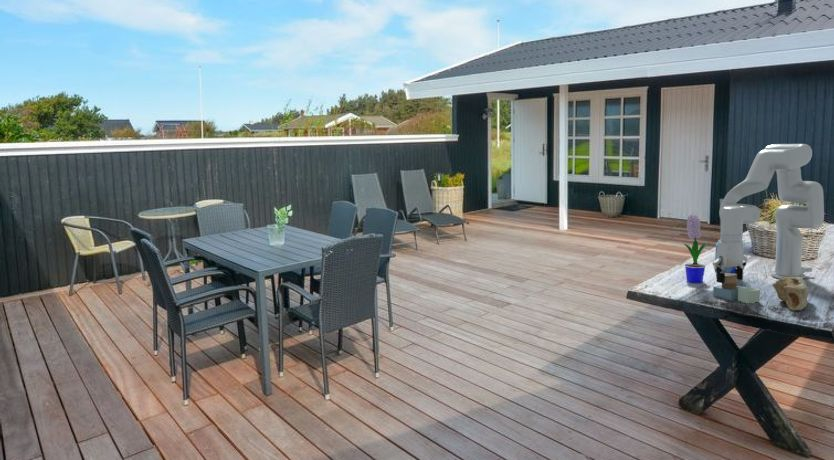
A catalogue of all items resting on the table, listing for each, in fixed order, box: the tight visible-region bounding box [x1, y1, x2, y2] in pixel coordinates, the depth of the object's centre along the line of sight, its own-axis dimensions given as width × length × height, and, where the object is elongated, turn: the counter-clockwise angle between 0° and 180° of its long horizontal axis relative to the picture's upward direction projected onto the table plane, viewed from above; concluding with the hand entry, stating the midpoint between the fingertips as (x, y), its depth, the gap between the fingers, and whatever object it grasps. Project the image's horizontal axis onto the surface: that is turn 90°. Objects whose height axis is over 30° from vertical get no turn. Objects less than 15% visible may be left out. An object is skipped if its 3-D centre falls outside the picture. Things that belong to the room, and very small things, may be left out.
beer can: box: [714, 238, 737, 275], centre depth 254 cm, size 8×8×16 cm
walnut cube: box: [721, 273, 738, 289], centre depth 223 cm, size 5×5×5 cm
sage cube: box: [737, 286, 761, 305], centre depth 215 cm, size 5×5×5 cm
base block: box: [712, 284, 744, 301], centre depth 224 cm, size 8×8×4 cm
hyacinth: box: [683, 213, 711, 284], centre depth 245 cm, size 9×10×30 cm
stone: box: [772, 277, 810, 311], centre depth 208 cm, size 17×12×10 cm
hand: (729, 280), depth 223 cm, fingers open, 9 cm apart
